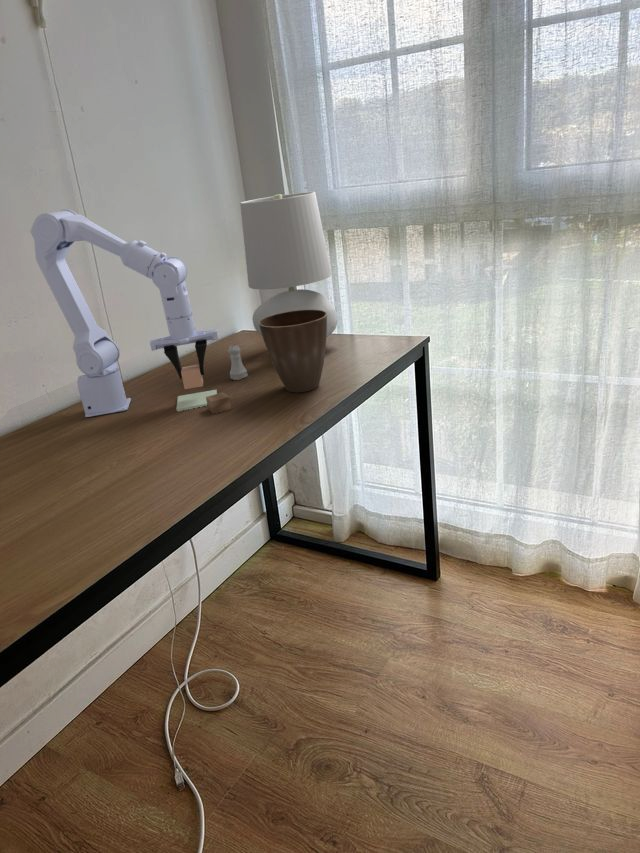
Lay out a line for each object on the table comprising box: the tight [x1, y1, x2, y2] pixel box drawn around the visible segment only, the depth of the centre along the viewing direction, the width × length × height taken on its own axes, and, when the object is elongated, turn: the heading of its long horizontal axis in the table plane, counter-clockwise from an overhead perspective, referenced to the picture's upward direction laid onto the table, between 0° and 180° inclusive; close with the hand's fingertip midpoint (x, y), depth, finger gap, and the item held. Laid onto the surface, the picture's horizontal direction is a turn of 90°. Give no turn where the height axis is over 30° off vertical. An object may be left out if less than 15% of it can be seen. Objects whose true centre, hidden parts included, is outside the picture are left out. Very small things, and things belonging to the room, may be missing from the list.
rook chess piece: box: [227, 344, 249, 381], centre depth 163 cm, size 4×4×8 cm
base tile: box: [176, 389, 218, 412], centre depth 151 cm, size 9×9×1 cm
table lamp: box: [239, 191, 338, 339], centre depth 172 cm, size 23×22×40 cm
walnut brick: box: [206, 392, 232, 414], centre depth 144 cm, size 4×4×3 cm
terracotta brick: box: [181, 364, 204, 390], centre depth 149 cm, size 4×4×4 cm
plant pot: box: [259, 310, 328, 393], centre depth 148 cm, size 15×15×16 cm
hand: (192, 375), depth 149 cm, fingers closed on terracotta brick, 4 cm apart
